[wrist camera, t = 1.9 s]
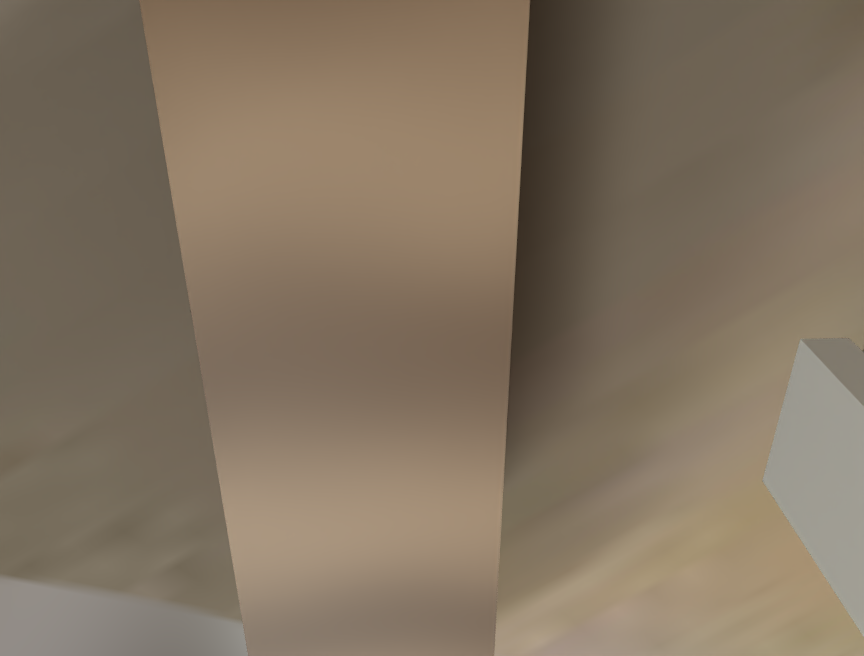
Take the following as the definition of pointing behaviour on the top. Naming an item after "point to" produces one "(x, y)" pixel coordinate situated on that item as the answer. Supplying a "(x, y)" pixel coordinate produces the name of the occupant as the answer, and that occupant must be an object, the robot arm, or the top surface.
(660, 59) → the top surface
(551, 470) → the top surface
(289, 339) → the walnut beam
